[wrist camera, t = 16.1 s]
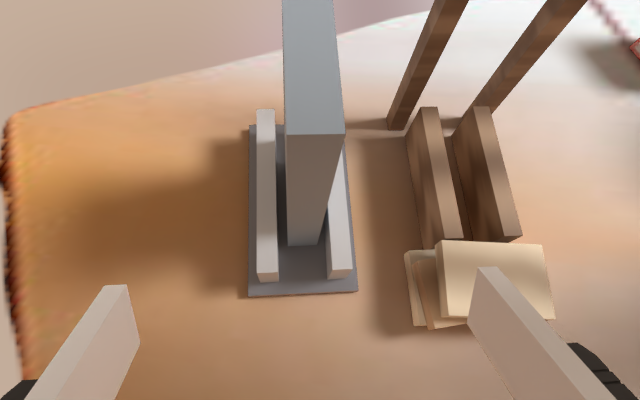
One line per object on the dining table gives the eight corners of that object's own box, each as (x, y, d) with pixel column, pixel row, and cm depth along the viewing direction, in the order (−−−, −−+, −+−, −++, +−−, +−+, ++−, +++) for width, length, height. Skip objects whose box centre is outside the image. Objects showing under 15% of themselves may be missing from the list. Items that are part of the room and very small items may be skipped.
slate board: (317, 245, 33) (345, 133, 16) (287, 246, 33) (286, 134, 16) (312, 161, 36) (332, -6, 19) (285, 162, 36) (281, -6, 19)
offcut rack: (529, 324, 33) (766, 295, 16) (414, 331, 32) (545, 308, 16) (478, 116, 40) (606, -44, 24) (384, 117, 39) (450, -49, 23)
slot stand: (356, 291, 33) (367, 281, 28) (248, 297, 32) (242, 287, 27) (341, 128, 38) (348, 98, 34) (250, 129, 38) (244, 99, 33)
